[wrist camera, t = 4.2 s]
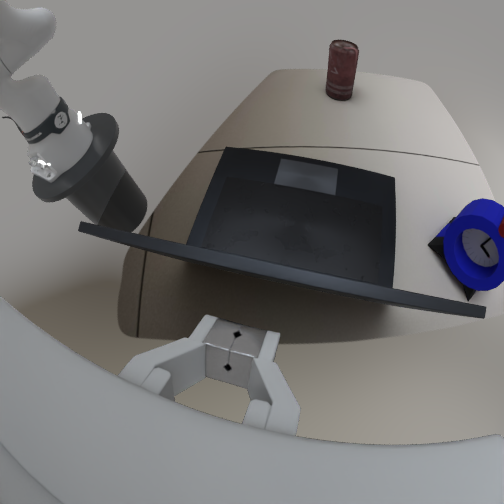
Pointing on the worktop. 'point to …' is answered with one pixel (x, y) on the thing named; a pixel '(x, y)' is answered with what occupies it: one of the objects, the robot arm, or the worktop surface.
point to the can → (341, 69)
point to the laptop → (300, 215)
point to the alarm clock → (474, 246)
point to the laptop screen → (286, 273)
